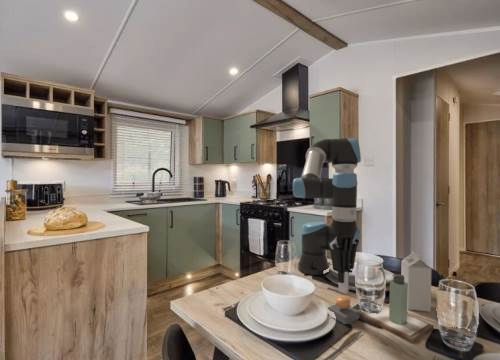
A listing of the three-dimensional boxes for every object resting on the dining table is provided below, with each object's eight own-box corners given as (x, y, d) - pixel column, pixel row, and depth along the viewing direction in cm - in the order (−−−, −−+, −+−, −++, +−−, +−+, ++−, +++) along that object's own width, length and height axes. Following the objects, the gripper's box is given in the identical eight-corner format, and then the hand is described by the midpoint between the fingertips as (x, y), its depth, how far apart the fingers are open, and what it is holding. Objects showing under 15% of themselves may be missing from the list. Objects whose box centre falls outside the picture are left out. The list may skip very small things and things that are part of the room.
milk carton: (421, 302, 97) (422, 251, 96) (430, 312, 90) (431, 257, 89) (400, 300, 98) (401, 249, 98) (407, 310, 91) (408, 255, 91)
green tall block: (389, 319, 83) (389, 275, 83) (395, 316, 85) (396, 272, 84) (400, 324, 80) (401, 279, 80) (407, 321, 82) (407, 276, 81)
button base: (327, 315, 88) (327, 307, 87) (341, 309, 91) (341, 302, 91) (344, 325, 82) (345, 317, 82) (358, 318, 85) (359, 311, 85)
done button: (333, 303, 87) (333, 297, 87) (341, 300, 89) (341, 294, 89) (344, 309, 83) (344, 303, 83) (353, 305, 86) (353, 299, 86)
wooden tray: (354, 313, 88) (354, 308, 88) (377, 303, 96) (377, 298, 95) (411, 343, 73) (411, 336, 73) (433, 328, 80) (433, 322, 80)
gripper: (340, 223, 79) (339, 301, 79) (366, 219, 86) (365, 291, 87) (321, 219, 86) (320, 291, 86) (347, 216, 93) (346, 283, 93)
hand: (343, 291), depth 86 cm, fingers closed
